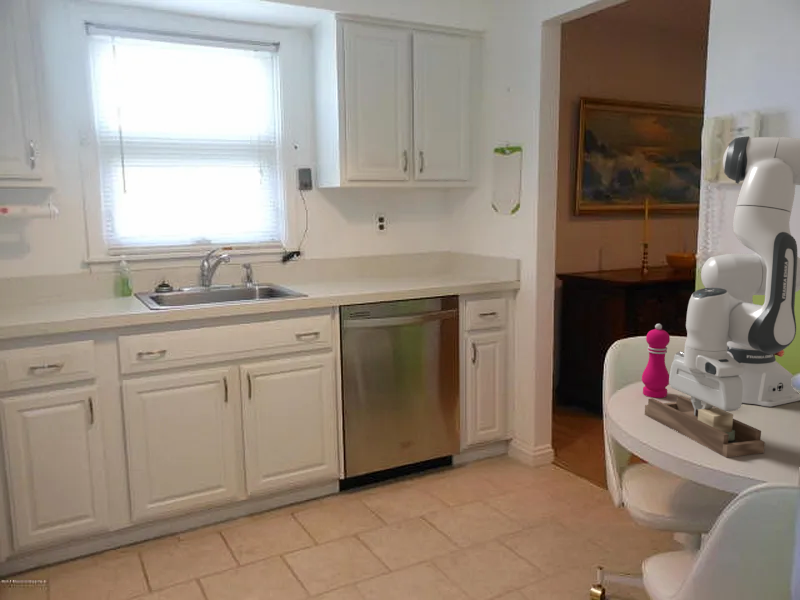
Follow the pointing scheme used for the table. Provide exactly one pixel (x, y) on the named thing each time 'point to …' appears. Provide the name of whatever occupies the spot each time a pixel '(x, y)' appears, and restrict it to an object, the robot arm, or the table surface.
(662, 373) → the pepper mill
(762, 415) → the table surface
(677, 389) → the robot arm
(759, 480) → the table surface
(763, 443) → the tray
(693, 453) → the table surface
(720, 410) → the maple block
